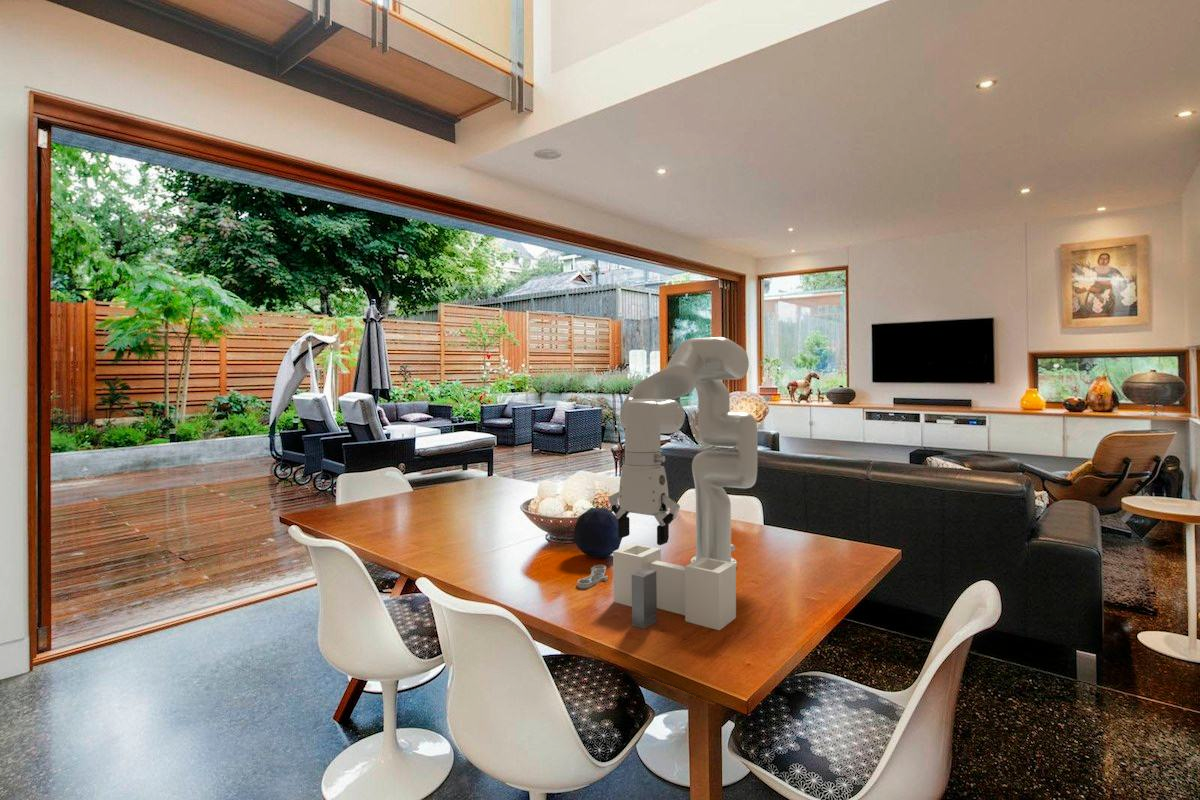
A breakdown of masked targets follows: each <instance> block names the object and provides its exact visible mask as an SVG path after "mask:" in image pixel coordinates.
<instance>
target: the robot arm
mask: <svg viewBox="0 0 1200 800" xmlns="http://www.w3.org/2000/svg"><path fill="white" fill-rule="evenodd" d="M749 363H750V362H749V357H748V354H747V352H746V350H745V349H744V348H743V346H741V345H739V344H737V343H736V342H734V341H733V340H732V339H729V338H726V337H723V336H714V337H713V336H712V337H694V338H693V337H691V338H688V339H685V340H683V341H682V342H681V343H680V344H679V345H678V346H677V348H676V349H675V351H674V353H673V354H672V356H671V357H670V359H669V360H668V363H667V364H666V366H665V367H664V369H662V370H660V371H657V372H655V373H654V374H652V375H650V376H649V377H646V378H644V379H643V380H641V381H639V382H638V383H637V384H636V385H635V386H633V387H632V388H631V389H630V392H629V393H628V394H627V396H626V397H625V399H624V401H623V403H622V405H621V409H620V412H619V420H620V423H621V426H622V428H624V464H623V465H622V468H621V473H620V479H619V489H618V492H615V493H613V494H611V495H610V496H608V502H609V504H610V506H611V511H612V513H613V514H614V515H615V516H616V518H617V519H618V532H619V538H622V539H623V538H626V537H629V535H630V534H631V533H630V516H628V515H629V514H630V513H633V514H638V515H643V516H644V515H646V516H652V517H653V516H654V518H655V519H656V521H657V523H658V525H657V527H656V544H657V545H658V546H662V545H665V544H667V543H668V541H669V537H670V535H669V533H670V532H669V531H670V528H669V527H670V524H671V523H672V521H674V520H675V518H676V517H677V514H678V512H679V511H680V508H681V506H680V504H679V503H677V502H676V501H675V500H673V499H672V498H671V497H669V488H668V487H669V485H668V479H667V472H666V469H665V466H663V465H661V464H662V463H665V461H666V456H665V455H663V454H662V451H661V450H662V449H661V448H662V447H661V445H662V443H661V434H673V433H676V432H678V431H679V430H681V428H682V427H683V424H684V423H685V419H686V418H685V417H686V415H685V410H684V407H683V406H682V405H681V403H680V402H679V401H677V400H676V399H679V398H681V397H684V396H688V395H689V394H690V393H692V392H693V391H694V389H696V393H697V402H698V403H697V404H698V407H697V408H698V409H697V410H698V411H697V412H698V413H697V414H698V415H697V417H698V418H697V421H698V422H697V433H698V434H697V436H698V439H699V441H700V443H701V444H702V445H704V446H711V447H719V448H720V447H723V448H724V447H725V448H736V449H737V452H733V451H731V452H730V451H720V450H717V451H716V450H707V451H705V450H704V451H701V452H699V453H697V454H696V455H695V456H694V457H693V459H692V462H691V472H692V478H693V483H694V489H695V490H694V492H695V556H692V558H690V563H692V562H694V561H696V560H698V559H699V558H701V557H706V558H711V559H716V560H722V561H727V562H732V563H736V567H737V566H738V564H737V563H738V562H737V560H736V559H735V558H733V557H732V552H735V549H736V546H735V544H732V503H731V499H730V497H729V495H728V494H727V492H726V490H725V489H724V488H732V489H733V488H735V489H749V488H752V487H753V486H755V485H756V482H757V479H758V478H757V477H758V450H759V449H758V447H759V446H758V441H759V440H758V438H759V437H758V425H757V424H758V423H757V421H756V418H755V417H754V416H753V415H752V414H751V413H748V412H743V411H741V412H740V411H739V412H738V411H737V412H736V411H731V410H730V405H731V404H730V398H731V397H730V396H731V394H730V392H729V390H728V388H727V386H726V385H725V384H724V382H723V381H722V380H724V381H725V380H728V381H729V380H732V381H734V380H740V379H743V378H744V377H746V375H747V373H748V370H749V365H750V364H749ZM667 512H668V513H667Z"/></svg>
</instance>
